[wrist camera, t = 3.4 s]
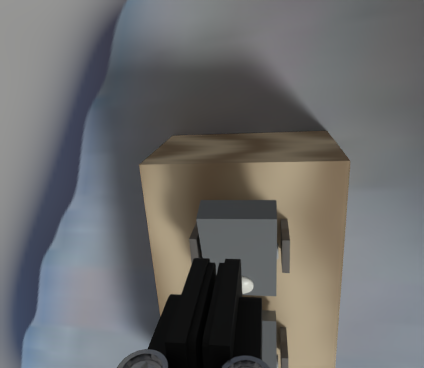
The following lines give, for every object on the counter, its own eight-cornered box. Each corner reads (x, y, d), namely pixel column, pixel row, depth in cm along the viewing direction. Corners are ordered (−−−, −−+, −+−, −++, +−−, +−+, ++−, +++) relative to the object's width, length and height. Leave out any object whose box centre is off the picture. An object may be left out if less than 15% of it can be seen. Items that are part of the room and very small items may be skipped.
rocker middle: (277, 310, 23) (277, 322, 21) (277, 399, 23) (278, 418, 21) (212, 307, 23) (208, 318, 22) (214, 394, 24) (210, 411, 22)
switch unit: (326, 130, 26) (362, 176, 17) (314, 379, 35) (333, 506, 25) (167, 135, 28) (115, 179, 19) (192, 369, 37) (165, 484, 27)
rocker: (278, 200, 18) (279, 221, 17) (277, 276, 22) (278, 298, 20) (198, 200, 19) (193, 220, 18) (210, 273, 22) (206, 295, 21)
